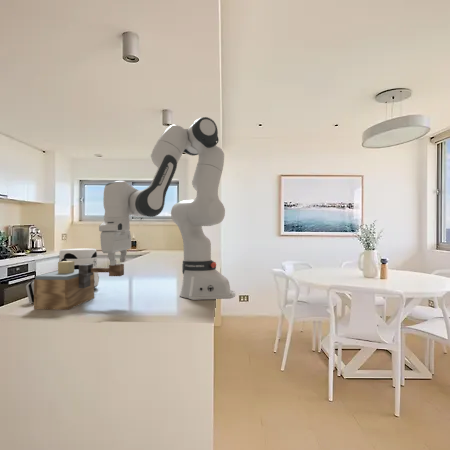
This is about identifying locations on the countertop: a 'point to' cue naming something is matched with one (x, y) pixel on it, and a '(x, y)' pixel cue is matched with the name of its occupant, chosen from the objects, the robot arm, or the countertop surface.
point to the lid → (61, 272)
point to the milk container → (81, 259)
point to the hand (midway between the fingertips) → (118, 263)
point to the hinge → (30, 291)
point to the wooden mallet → (111, 269)
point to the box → (65, 291)
